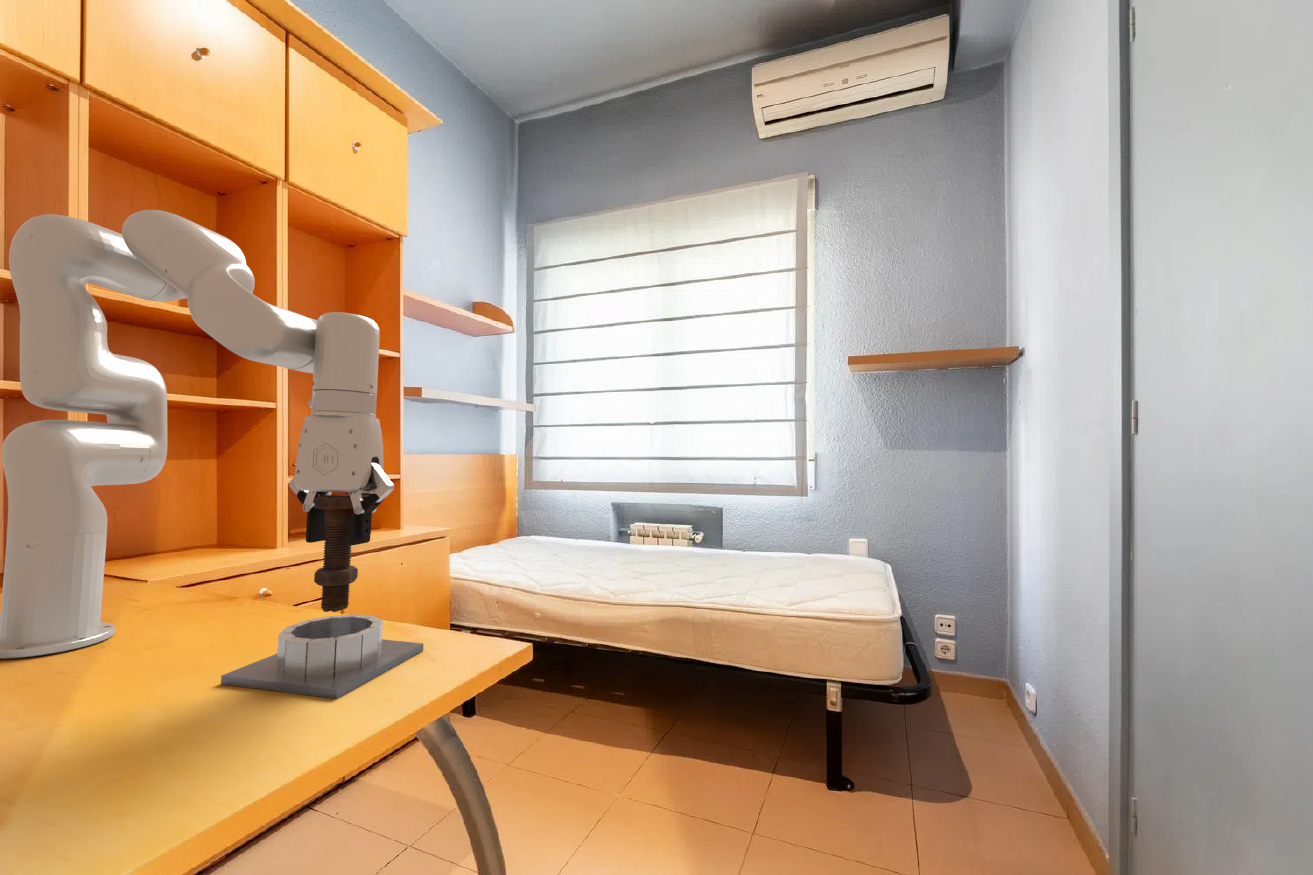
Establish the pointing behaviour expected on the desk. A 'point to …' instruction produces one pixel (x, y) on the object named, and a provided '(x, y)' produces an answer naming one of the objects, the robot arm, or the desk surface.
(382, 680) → the desk surface
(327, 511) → the bolt
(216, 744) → the desk surface
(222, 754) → the desk surface
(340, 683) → the ring fixture
